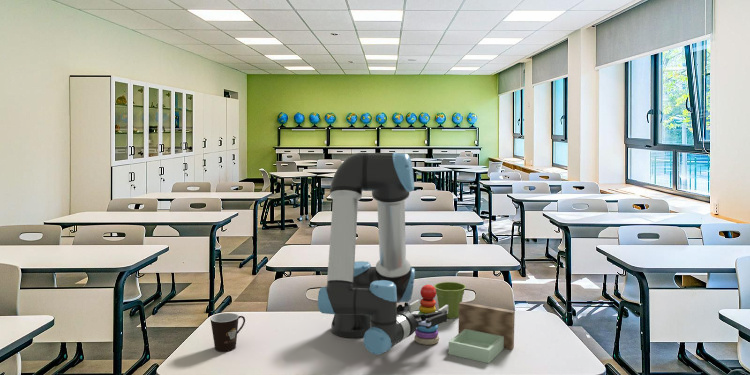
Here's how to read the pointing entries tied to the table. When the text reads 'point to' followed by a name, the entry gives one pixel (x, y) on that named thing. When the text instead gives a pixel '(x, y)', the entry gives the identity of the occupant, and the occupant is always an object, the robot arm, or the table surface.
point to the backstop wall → (488, 321)
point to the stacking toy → (427, 307)
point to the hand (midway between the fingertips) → (432, 306)
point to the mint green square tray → (476, 345)
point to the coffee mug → (225, 331)
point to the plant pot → (450, 296)
